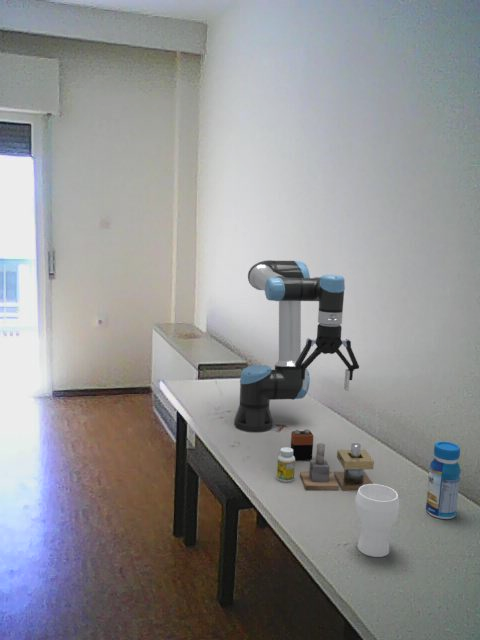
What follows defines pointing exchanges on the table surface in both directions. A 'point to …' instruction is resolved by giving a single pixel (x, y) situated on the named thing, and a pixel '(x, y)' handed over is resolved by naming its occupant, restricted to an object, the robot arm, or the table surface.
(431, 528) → the table surface
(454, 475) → the beverage bottle
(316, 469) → the rod stand
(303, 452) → the battery
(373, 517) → the cup
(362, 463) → the brass plate
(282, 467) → the supplement bottle
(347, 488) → the peg stand
